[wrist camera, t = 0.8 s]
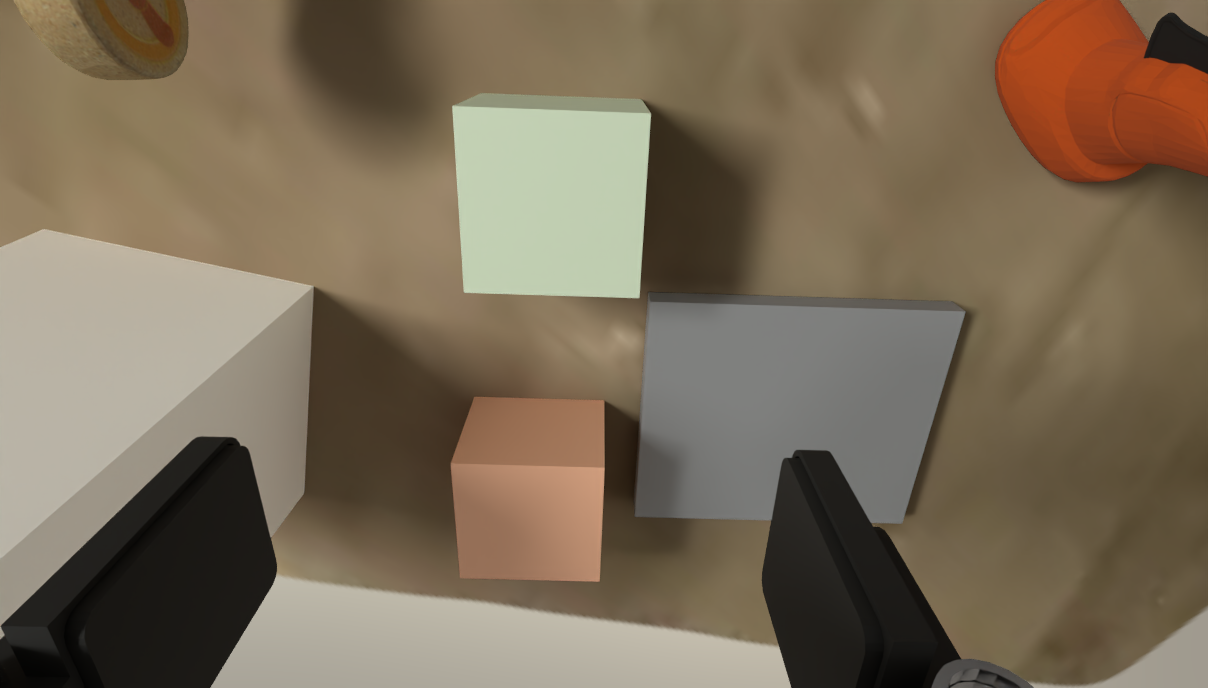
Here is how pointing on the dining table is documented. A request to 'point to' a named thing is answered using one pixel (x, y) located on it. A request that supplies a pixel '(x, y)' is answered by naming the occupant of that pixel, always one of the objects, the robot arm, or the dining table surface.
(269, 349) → the milk
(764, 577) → the robot arm
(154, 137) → the dining table surface
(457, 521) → the terracotta block
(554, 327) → the dining table surface
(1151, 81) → the toy drill
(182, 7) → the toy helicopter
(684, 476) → the gray plate
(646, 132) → the sage block
